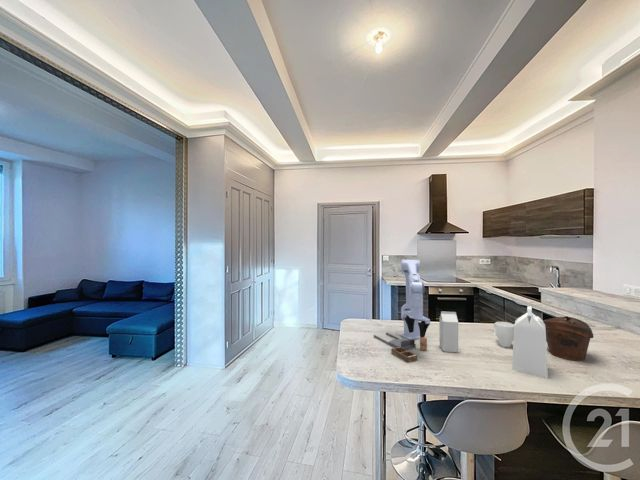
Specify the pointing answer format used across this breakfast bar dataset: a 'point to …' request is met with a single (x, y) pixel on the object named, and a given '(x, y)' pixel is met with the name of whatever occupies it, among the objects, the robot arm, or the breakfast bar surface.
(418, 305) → the robot arm
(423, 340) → the peg
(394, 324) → the breakfast bar surface
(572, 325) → the case
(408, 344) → the cover
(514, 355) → the milk
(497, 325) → the mug
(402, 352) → the socket board
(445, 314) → the milk carton
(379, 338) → the pattern board
